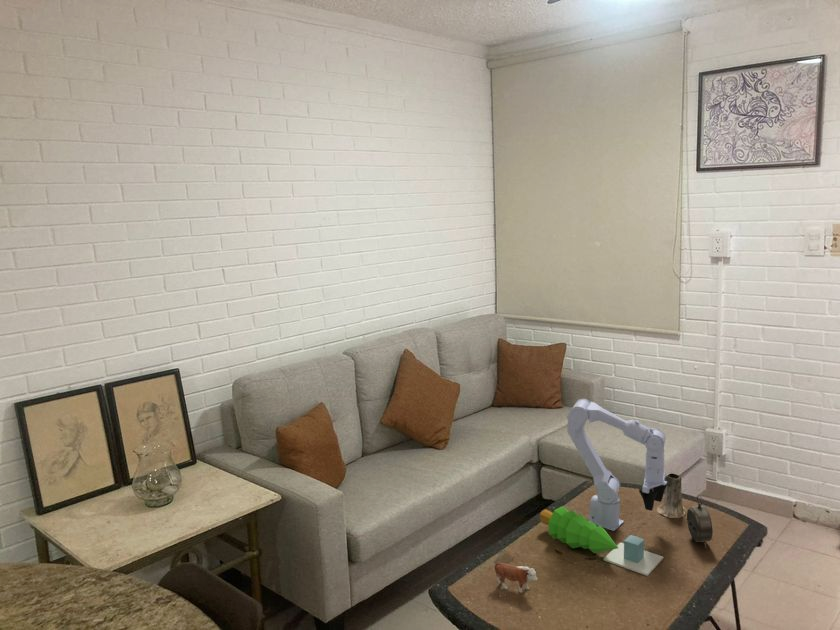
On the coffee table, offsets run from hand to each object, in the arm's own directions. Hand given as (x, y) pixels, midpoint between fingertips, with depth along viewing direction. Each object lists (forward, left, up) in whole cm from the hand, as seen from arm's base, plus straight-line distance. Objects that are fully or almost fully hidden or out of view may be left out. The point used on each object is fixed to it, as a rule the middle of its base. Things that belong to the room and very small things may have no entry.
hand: (653, 505), depth 222 cm
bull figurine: (-18, -55, -10) cm, 59 cm away
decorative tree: (-15, -24, -10) cm, 30 cm away
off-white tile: (+2, -20, -9) cm, 22 cm away
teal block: (+2, -20, -9) cm, 22 cm away
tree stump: (0, +17, -10) cm, 20 cm away
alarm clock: (+14, +2, -10) cm, 17 cm away
